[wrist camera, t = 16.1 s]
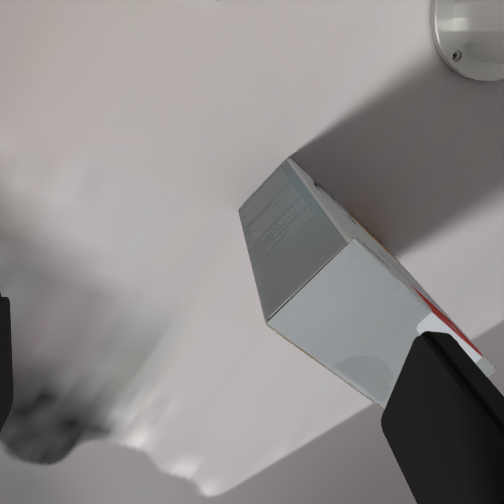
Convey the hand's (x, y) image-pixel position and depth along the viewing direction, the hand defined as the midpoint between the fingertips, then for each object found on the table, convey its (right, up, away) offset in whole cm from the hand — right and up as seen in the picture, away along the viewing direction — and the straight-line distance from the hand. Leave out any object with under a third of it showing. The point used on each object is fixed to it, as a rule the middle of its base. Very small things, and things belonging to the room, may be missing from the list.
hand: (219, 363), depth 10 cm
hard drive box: (+7, +5, +36) cm, 37 cm away
